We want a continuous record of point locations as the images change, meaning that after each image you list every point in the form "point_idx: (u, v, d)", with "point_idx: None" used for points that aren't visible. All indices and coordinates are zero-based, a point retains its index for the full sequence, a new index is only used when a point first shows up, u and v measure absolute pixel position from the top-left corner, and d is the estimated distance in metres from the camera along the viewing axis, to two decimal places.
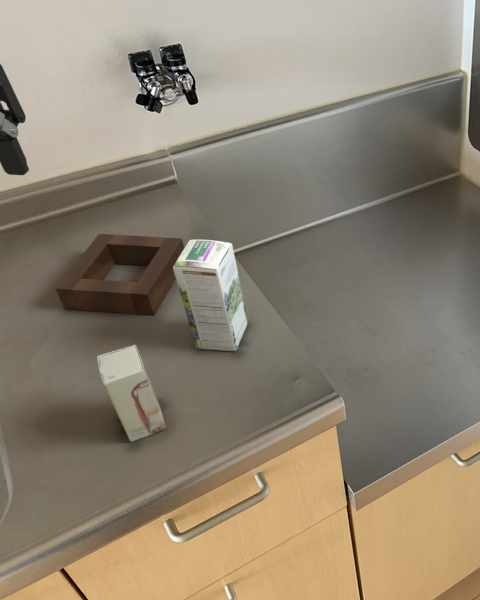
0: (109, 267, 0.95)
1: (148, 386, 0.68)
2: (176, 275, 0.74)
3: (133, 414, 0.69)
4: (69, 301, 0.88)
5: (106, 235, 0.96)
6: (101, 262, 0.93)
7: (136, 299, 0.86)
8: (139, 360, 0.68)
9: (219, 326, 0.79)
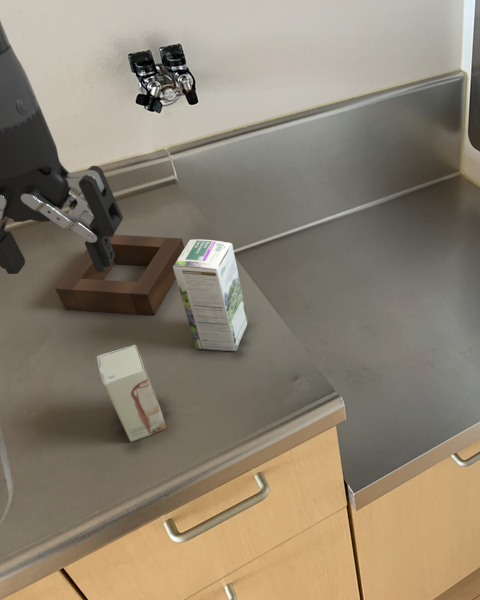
0: (109, 267, 0.95)
1: (148, 386, 0.68)
2: (176, 275, 0.74)
3: (133, 414, 0.69)
4: (69, 301, 0.88)
5: None
6: None
7: (136, 299, 0.86)
8: (139, 360, 0.68)
9: (219, 326, 0.79)
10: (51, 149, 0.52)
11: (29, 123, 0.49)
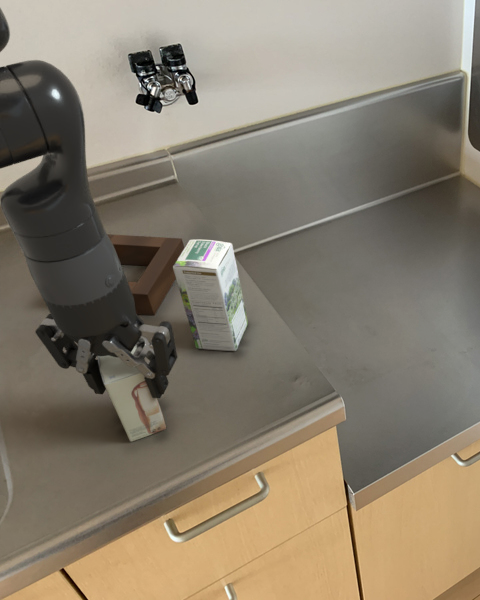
0: None
1: None
2: (176, 275, 0.74)
3: (134, 414, 0.69)
4: None
5: None
6: None
7: (136, 299, 0.86)
8: None
9: (219, 326, 0.79)
10: (130, 306, 0.61)
11: (114, 292, 0.58)
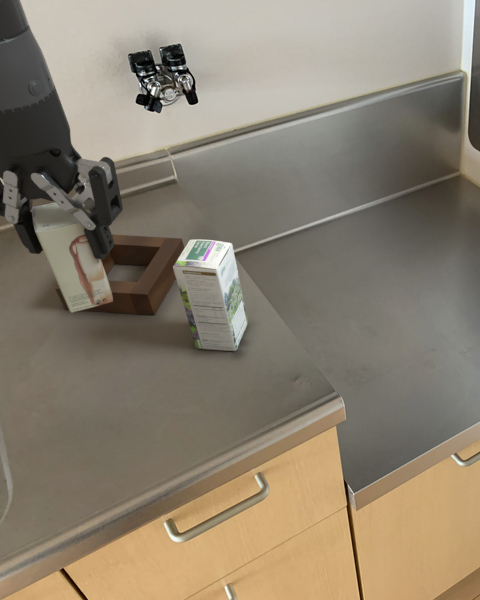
0: (109, 267, 0.95)
1: None
2: (176, 275, 0.74)
3: (73, 277, 0.60)
4: None
5: None
6: None
7: (136, 299, 0.86)
8: None
9: (219, 326, 0.79)
10: (63, 131, 0.53)
11: (41, 105, 0.50)
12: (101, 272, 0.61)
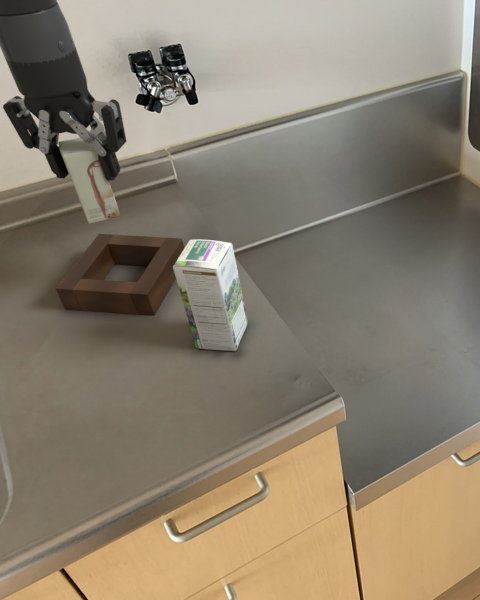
0: (109, 267, 0.95)
1: None
2: (176, 275, 0.74)
3: (90, 194, 0.80)
4: (69, 301, 0.88)
5: (106, 235, 0.96)
6: (101, 262, 0.93)
7: (136, 299, 0.86)
8: None
9: (219, 326, 0.79)
10: (82, 79, 0.73)
11: (67, 58, 0.70)
12: (111, 191, 0.82)
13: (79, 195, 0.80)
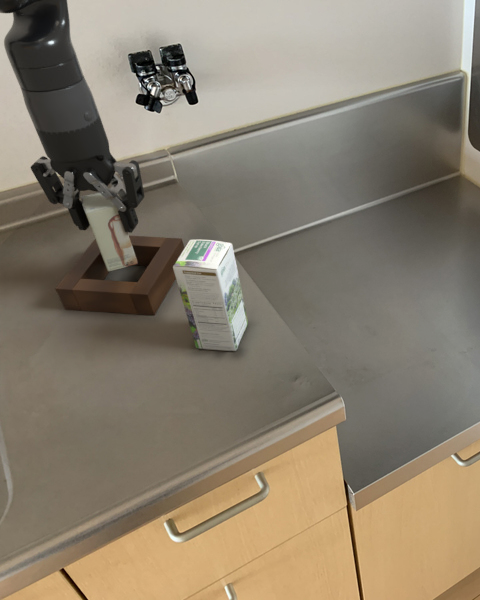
0: None
1: None
2: (176, 275, 0.74)
3: (110, 245, 0.86)
4: (69, 301, 0.88)
5: None
6: (101, 262, 0.93)
7: (136, 299, 0.86)
8: None
9: (219, 326, 0.79)
10: (105, 143, 0.78)
11: (91, 126, 0.75)
12: (129, 242, 0.87)
13: (100, 246, 0.85)
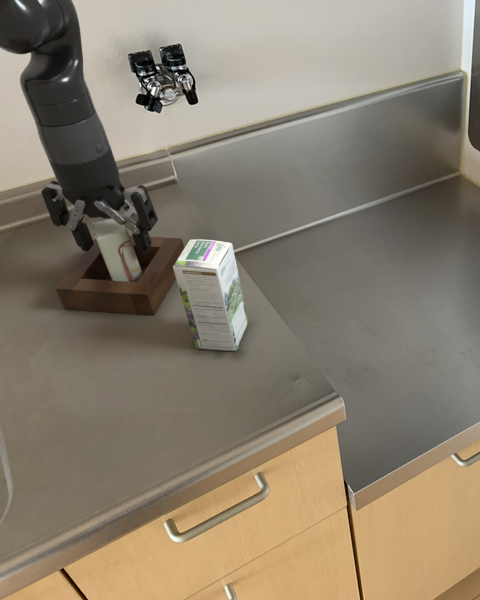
0: None
1: (131, 246, 0.88)
2: (176, 275, 0.74)
3: (120, 270, 0.89)
4: (69, 301, 0.88)
5: None
6: (101, 262, 0.93)
7: (136, 299, 0.86)
8: None
9: (219, 326, 0.79)
10: (115, 173, 0.81)
11: (103, 158, 0.78)
12: (138, 266, 0.90)
13: (110, 271, 0.88)
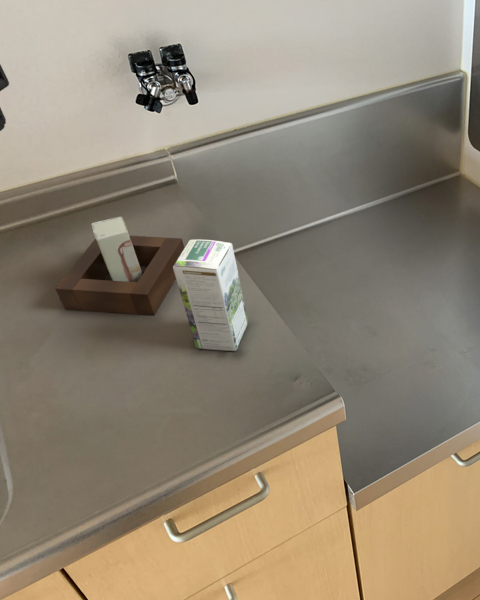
0: None
1: (131, 246, 0.88)
2: (176, 275, 0.74)
3: (120, 270, 0.89)
4: (69, 301, 0.88)
5: None
6: (101, 262, 0.93)
7: (136, 299, 0.86)
8: (124, 225, 0.88)
9: (219, 326, 0.79)
10: None
11: None
12: (138, 266, 0.90)
13: (110, 271, 0.88)
